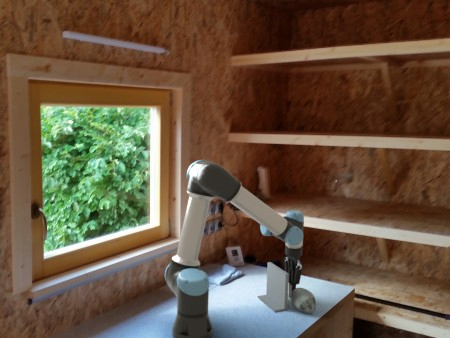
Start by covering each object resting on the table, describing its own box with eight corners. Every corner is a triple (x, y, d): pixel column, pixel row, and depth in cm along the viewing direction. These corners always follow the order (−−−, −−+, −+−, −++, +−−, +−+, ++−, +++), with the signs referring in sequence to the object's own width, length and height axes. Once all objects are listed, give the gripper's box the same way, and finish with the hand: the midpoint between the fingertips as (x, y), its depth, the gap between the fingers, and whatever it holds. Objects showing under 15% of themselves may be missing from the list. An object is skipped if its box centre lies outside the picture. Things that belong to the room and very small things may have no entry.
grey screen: (275, 312, 194) (276, 275, 192) (257, 297, 209) (258, 263, 206) (287, 310, 196) (288, 273, 194) (269, 295, 211) (270, 262, 209)
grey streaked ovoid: (323, 308, 191) (312, 286, 191) (304, 320, 190) (292, 298, 190) (313, 302, 205) (302, 282, 205) (295, 313, 203) (284, 293, 203)
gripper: (309, 249, 198) (307, 302, 201) (293, 241, 210) (291, 290, 213) (294, 251, 195) (292, 304, 198) (279, 242, 207) (277, 293, 210)
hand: (291, 297), depth 206 cm, fingers closed
